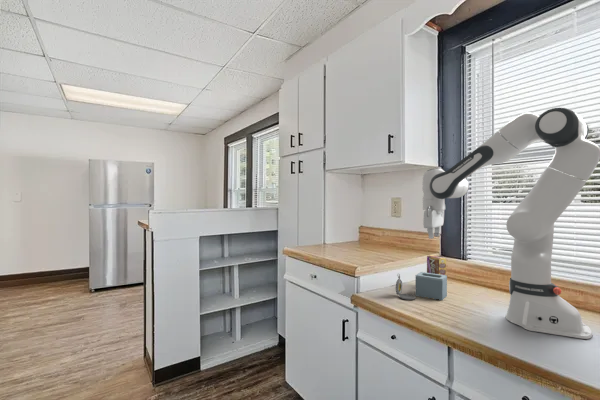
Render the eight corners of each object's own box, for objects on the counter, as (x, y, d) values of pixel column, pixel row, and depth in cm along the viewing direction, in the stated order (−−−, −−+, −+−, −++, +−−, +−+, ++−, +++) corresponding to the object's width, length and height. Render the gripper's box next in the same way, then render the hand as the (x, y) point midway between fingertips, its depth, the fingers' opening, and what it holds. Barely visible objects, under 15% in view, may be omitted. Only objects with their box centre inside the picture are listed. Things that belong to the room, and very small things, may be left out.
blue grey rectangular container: (446, 296, 135) (446, 275, 135) (442, 300, 129) (442, 279, 129) (420, 291, 142) (420, 271, 142) (415, 295, 135) (415, 275, 135)
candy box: (446, 291, 142) (446, 258, 142) (438, 292, 141) (438, 258, 141) (434, 286, 151) (434, 254, 151) (426, 286, 150) (426, 255, 150)
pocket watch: (417, 300, 129) (417, 276, 129) (397, 300, 129) (397, 276, 129) (411, 294, 137) (411, 272, 137) (392, 294, 137) (392, 272, 137)
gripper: (435, 206, 125) (435, 240, 125) (446, 205, 142) (446, 235, 142) (419, 206, 129) (419, 239, 129) (431, 205, 146) (432, 235, 145)
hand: (434, 237), depth 135 cm, fingers open, 8 cm apart
